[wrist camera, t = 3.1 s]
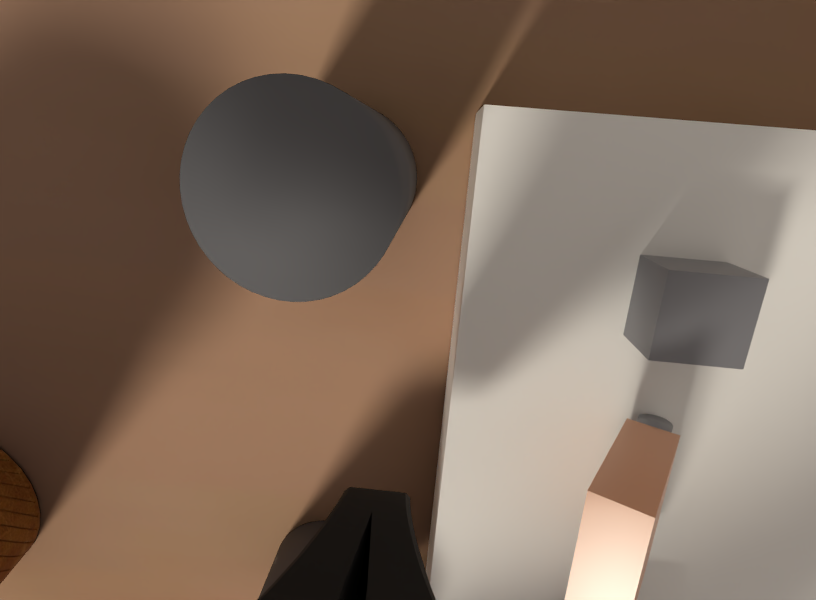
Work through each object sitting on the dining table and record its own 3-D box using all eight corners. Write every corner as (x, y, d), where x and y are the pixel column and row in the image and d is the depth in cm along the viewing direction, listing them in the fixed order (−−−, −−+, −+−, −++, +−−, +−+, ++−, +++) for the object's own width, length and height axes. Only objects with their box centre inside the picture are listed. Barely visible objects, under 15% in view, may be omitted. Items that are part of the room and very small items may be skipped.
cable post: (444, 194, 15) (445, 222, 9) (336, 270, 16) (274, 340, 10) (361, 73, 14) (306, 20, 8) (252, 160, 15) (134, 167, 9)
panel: (926, 149, 14) (1154, 149, 9) (746, 659, 19) (839, 815, 14) (475, 113, 14) (491, 97, 10) (420, 621, 19) (413, 759, 15)
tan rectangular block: (684, 424, 13) (655, 517, 9) (649, 556, 14) (612, 684, 10) (632, 407, 13) (587, 490, 10) (603, 535, 14) (553, 650, 11)
